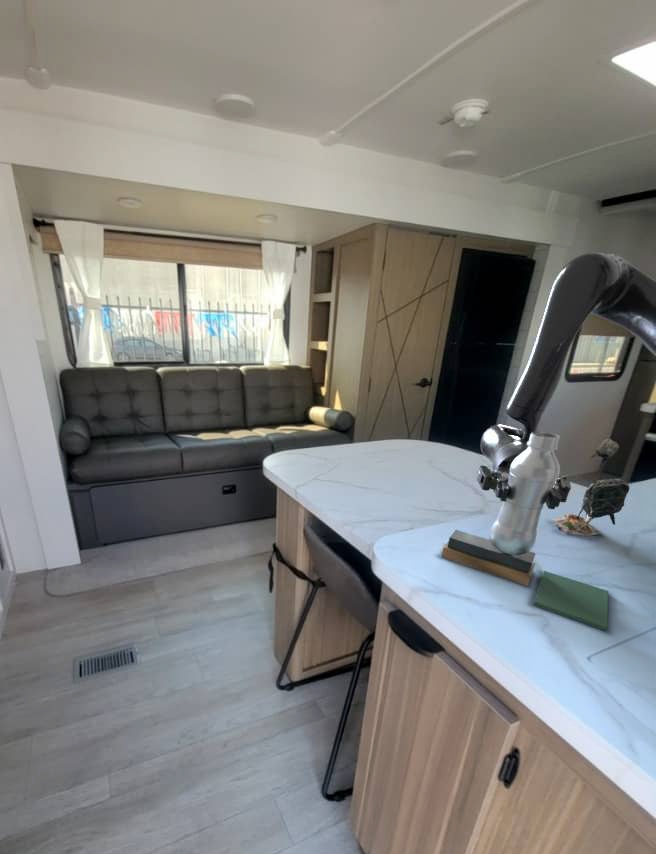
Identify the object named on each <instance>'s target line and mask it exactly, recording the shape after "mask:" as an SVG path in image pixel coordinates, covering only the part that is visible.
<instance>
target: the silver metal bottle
mask: <svg viewBox="0 0 656 854" xmlns="http://www.w3.org/2000/svg"><path fill="white" fill-rule="evenodd" d="M560 437H561V436H560V435H558V434H555V433H552V432H547V431H537V432H531V434H530V438H529V441H528V442H527V445H528V446H529V447H528V448H527V449H526V450H525V451H523V452H522V453H521V454H519V455H518V456H517V457H516V458H515V459H514V461H513V462H512V464H511V467H510V472H509V480H508V488H509V492H508V495H507V498H506V501H505V502H504V501H503V502H502V505H501V508H500V510H499V513H498V514H497V517H496V519H495V521H494V522H493V524H492V526H491V528H490V530H489V538H488V539H489V540H490V542H491V544H492V546H493V547H495V548H496V549H498V550H500V551H502V552H505V553H508V554H513V555H522V554H525V553H527V552H528V551H529V552H531V550H532V549H533V547H534V545H535V543H536V539H537V533H538V530H537V529H538V525H539V520H540V516H541V513H542V510H543V508H544V504H546V503H545V501H546V499H547V496H548V494H549V493H550V491H551V489H552V487H553V486H554V484H555V482H556V480H557V479H558V478H559V476H560V474H561V465H560V463H559V460H558V458H557V456H556V454H555V451H557V450H558V447H559V445H558V444H559V441H560Z"/></svg>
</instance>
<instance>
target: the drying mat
mask: <svg viewBox="0 0 656 854" xmlns="http://www.w3.org/2000/svg"><path fill="white" fill-rule="evenodd" d="M537 588H538V589H537V591H536V595H535V598H534V602H533V605H534V606H536V607H538V608H542V609H545V610H547V611H550V612H552V613H555V614H558V615H561V616H564V617H567V618H570V619H572V620H574V621H578V622H580V623H584V624H586V625H588V626H591V627H595V628H598V629H600V630H602V631H607V629H608V615H609V613H608V612H609V590H607V589H605V588H604V589H603V588H600V587H597V586H593V585H591V584H588V583H584V582H581V581H578V580H575V579H571V578H568V577H565V576H562V575H559V574H556V573H552V572H550V571H546V570H543V571H542V574H541V577H540V581H539V585H538V587H537Z"/></svg>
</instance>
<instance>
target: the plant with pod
mask: <svg viewBox="0 0 656 854" xmlns="http://www.w3.org/2000/svg"><path fill="white" fill-rule="evenodd" d="M619 449H620V445H619V444H618V443H617V442H616V441H615V440H612V438H605V439H603V440H602V442H600V444H599V445H598V446H596V448H595V453H594V454H593V455H592V456H591V459H594V458H596V457H600V458H602V459H603V461H602V463H601V465H600V468H599V471H598V472H597V475H596V478H595V480H594V482H592V483H591V484H589V486H588V488H587V489H586V490H585V493H584V494H583V499H582V503H581V510H580V511H579V513H578V515H576V514H571V513H566V514H564V517H557V518H553V519H551V521H553V522H554V524H555V526H556V527H557V530H558V531H561V532H563V533H567V534H570V535H579V536H584V537H586V538H587V537H590V536H598V535H602V534H603V533H601V532H598V531H597V530H596V529H594V527H592V525H591V524H589V523H591V522H592V521H593V520H594V519H598V518H602V517H606V516H608V517H609V519H610V520H611V523H612V525H616V520H615V519H616V517H615V514H617V513H619V512H621V511H622V509H623V507H624V506H625V500H626V498H627V496H628V493H629V492H630V487H631V486H630V485H629V483H628V482H626V481H624V480H622V479H621V478H609V479H601V480H599V479H600V477H601V475H602V472H603V470H604V467H605V466H606V463H607V460H610V459H611V458H612V457H614V456H615V454H616V453H617V452H618V450H619ZM583 511H584V512H585V516H584V517H582V516H580V515H581V514H582V513H583Z"/></svg>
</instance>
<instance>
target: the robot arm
mask: <svg viewBox="0 0 656 854" xmlns="http://www.w3.org/2000/svg"><path fill="white" fill-rule="evenodd" d="M545 306H546V307H545V309H544V313H543V317H542V320H541V323H540V326H539V328H538V332H537V335H536V338H535V340H534V344H533V347H532V348H531V352H530V354H529V357H528V358H527V361H526V364H525V366H524V368H523V371H522V373H521V375H520V377H519V379H518V381H517V383H516V386H515V387H514V390H513V392H512V394H511V396H510V398H509V400H508V402H507V404H506V406H505V414H506V415H507V416H508V417H509V418H511V419H512V420H514V421H516V422H518V423H520V424H521V425H523V429H519V428H516V427H512V426H507V425H503V424H493V425H491V426H489V427H488V428H487V429H486V430H485V431H484V432H483V434H482V435H481V439H480V450H481V453H482V454H483V456H484V457H486V458H487V459H488V460H489V461H490V462H492V469H491V468H488V466H486V465H480V466H479V468H478V471H477V475H476V482H477V483H478V484H479V487H480V488H481V490H483V491H488V492H489V491H490V490H493V493H494V495H495V498H498V499H499V501H500V502H503V503H504V502H505V501H506V498H507V495H508V492H509V488H508V480H509V472H510V467H511V464H512V462H513V461H514V459H515V458H516V457H517V456H518V455H519V454H521V453H522V452H523V451H525V450H526V449H527V448H528V447H529V446H528V445H527V442H528V441H529V438H530V434H531V432H539V431H538V430H539V428H540V424H541V421H542V419H543V415H544V414H545V412H546V410H547V408H548V406H549V405H550V403H551V401H552V399H553V397H554V396H555V393H556V391H557V389H558V387H559V385H560V382H561V379H562V376H563V373H564V368H565V364H566V361H567V358H568V354H569V351H570V349H571V347H572V344H573V342H574V341H575V338H576V336H577V334H578V333H579V330H580V329H581V328H582V326H583V325H584V323H585V321H586V320H587V318H588V317H589V316H590V315H593V316H596V317H599V318H602V319H604V320H607V321H608V322H611V323H613V324H616V325H617V326H619V327H622V329H625V330H627V332H630V333H631V334H632V336H634V337H635V338H636V339H637V340H639V341H640V342H641V344H642V345H643V346H644V348H646V349H647V350H648V351H649V352H650V353H651V354H652V355H654V356H655V357H656V279H654V278H652V277H651V276H649V275H648V274H646V273H644V272H643V271H641V270H640V269H639V268H637V267H636V266H634V265H633V264H631V263H630V262H629V261H627V260H626V259H624V258H623V257H621V256H620V255H617V254H614V253H607V252H585V253H582V254H580V255H576V257H573V258H572V259H571V260H568V262H566V263H565V265H563V267H562V268H561V269H560V270H559V272H558V273H557V275H556V277H555V279H554V282H553V284H552V287H551V290H550V292H549V296H548V299H547V302H546V305H545ZM571 485H572V484H571V481H570V478H569V477H567V476H565V475H563V476H560V477H558V479H557V480H556V482H555V484H554V486H553V487H552V489H551V491H550V493H549V494H548V496H547V499H546V501H545V503H544V504H545V505H546V507H547V509H548V510H555V508H559V506H560V503H567V500H568V496H569V494H570V492H571V489H572V486H571Z"/></svg>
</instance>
